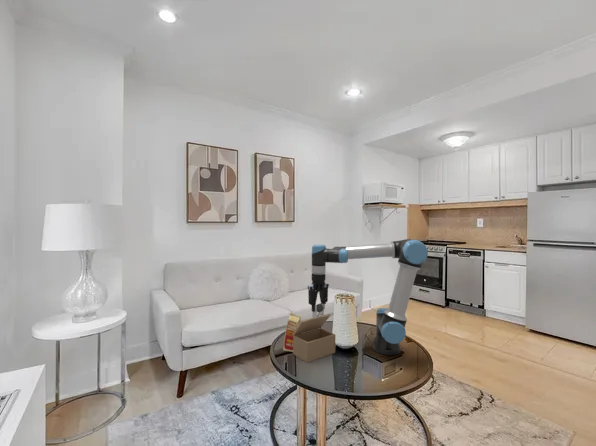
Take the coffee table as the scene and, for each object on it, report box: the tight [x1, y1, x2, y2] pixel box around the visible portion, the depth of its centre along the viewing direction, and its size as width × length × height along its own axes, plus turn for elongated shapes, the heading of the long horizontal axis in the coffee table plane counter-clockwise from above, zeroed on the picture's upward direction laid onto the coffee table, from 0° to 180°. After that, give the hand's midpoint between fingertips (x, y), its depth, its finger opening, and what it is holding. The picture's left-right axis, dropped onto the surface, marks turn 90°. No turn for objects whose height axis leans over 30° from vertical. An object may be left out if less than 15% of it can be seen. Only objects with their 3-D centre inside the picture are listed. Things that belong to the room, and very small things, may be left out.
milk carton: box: [282, 312, 303, 353], centre depth 166 cm, size 9×9×20 cm
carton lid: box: [293, 303, 331, 335], centre depth 160 cm, size 20×20×5 cm
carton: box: [292, 327, 336, 363], centre depth 159 cm, size 12×20×10 cm, turn 127°
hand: (318, 316), depth 157 cm, fingers closed on carton lid, 4 cm apart
